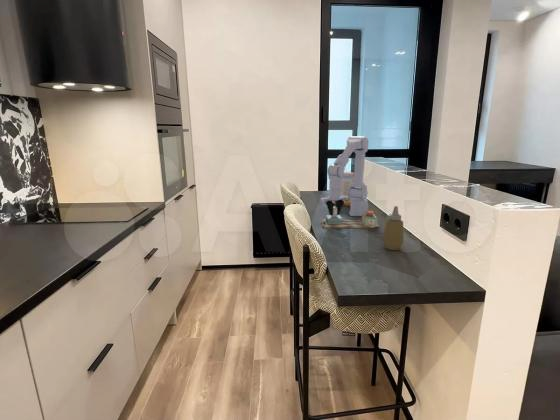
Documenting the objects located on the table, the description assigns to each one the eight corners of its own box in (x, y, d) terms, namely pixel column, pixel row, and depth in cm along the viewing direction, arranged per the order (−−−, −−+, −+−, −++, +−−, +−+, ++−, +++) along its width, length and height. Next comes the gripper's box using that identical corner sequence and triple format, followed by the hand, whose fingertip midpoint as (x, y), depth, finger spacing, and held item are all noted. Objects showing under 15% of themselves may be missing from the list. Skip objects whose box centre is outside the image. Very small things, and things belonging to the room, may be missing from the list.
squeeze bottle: (388, 243, 141) (391, 203, 136) (406, 248, 135) (410, 206, 131) (378, 248, 135) (381, 206, 131) (397, 253, 130) (401, 210, 125)
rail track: (375, 222, 170) (375, 217, 170) (379, 227, 162) (379, 222, 161) (321, 222, 172) (321, 217, 171) (322, 227, 163) (322, 222, 163)
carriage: (339, 220, 170) (340, 205, 168) (341, 224, 163) (342, 209, 161) (326, 220, 171) (326, 205, 169) (327, 224, 164) (328, 209, 162)
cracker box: (354, 204, 208) (355, 172, 203) (350, 206, 203) (352, 173, 198) (334, 202, 215) (335, 170, 210) (330, 204, 210) (331, 172, 205)
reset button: (372, 218, 168) (373, 210, 167) (374, 221, 163) (375, 213, 162) (364, 218, 168) (364, 210, 167) (365, 221, 164) (366, 213, 163)
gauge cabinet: (373, 222, 170) (373, 213, 169) (377, 227, 162) (377, 218, 161) (361, 222, 170) (362, 213, 169) (364, 227, 162) (365, 218, 161)
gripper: (343, 186, 169) (342, 211, 172) (318, 188, 164) (317, 214, 167) (350, 188, 162) (349, 214, 166) (325, 190, 157) (324, 217, 161)
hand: (334, 214), depth 166 cm, fingers open, 3 cm apart
